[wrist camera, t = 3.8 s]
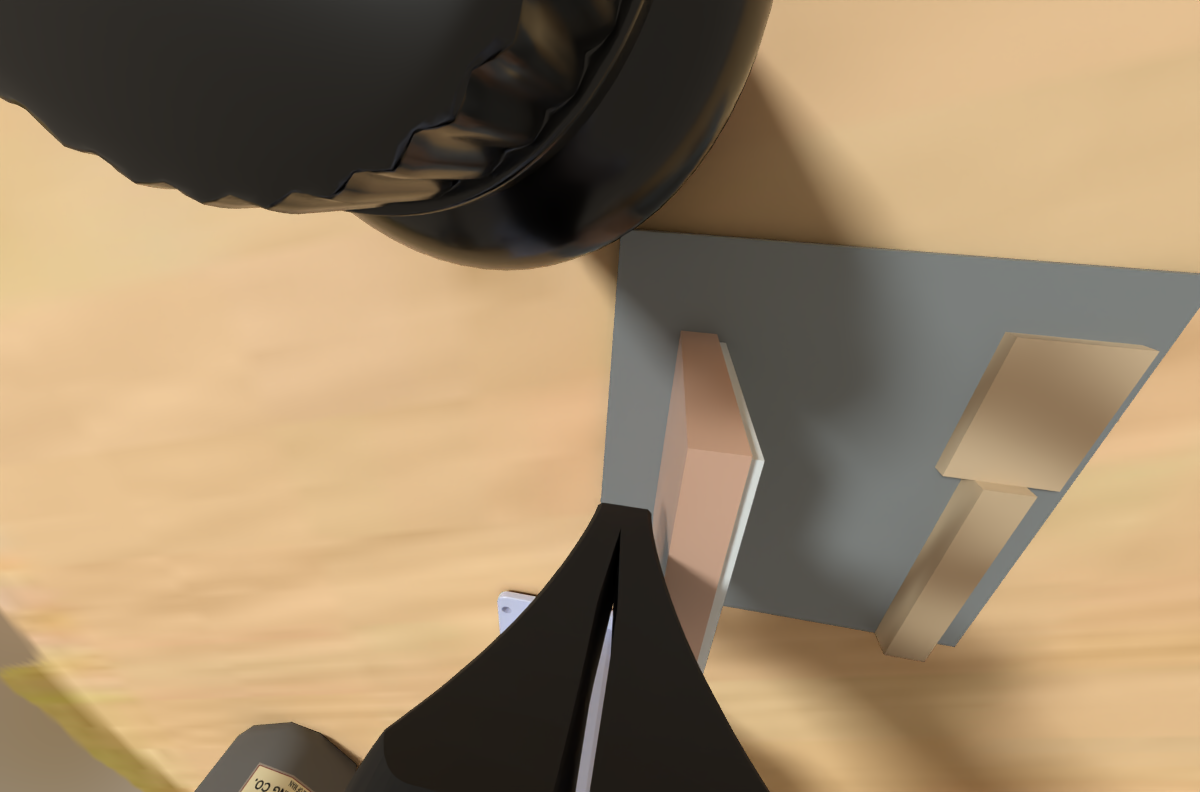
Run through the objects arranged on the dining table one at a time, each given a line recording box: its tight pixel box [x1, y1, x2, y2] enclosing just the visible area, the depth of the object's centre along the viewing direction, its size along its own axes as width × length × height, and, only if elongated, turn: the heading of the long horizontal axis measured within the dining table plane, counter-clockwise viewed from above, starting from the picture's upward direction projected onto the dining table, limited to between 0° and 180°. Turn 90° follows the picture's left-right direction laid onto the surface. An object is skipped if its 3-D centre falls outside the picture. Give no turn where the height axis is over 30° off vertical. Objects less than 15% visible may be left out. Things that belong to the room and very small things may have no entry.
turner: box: [875, 332, 1160, 662], centre depth 15 cm, size 14×4×1 cm, turn 177°
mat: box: [601, 229, 1200, 647], centre depth 16 cm, size 16×16×1 cm
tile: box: [653, 331, 764, 673], centre depth 13 cm, size 8×2×7 cm, turn 177°
